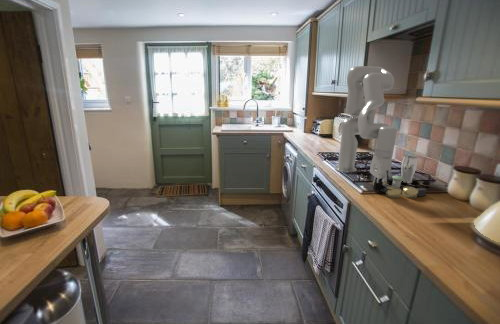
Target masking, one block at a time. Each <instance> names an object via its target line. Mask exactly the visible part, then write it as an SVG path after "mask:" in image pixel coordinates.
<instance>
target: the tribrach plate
mask: <svg viewBox="0 0 500 324" xmlns="http://www.w3.org/2000/svg"><path fill="white" fill-rule="evenodd" d="M391 177H392V183H391V187H397V188H399V189H401V185H402V181H401V180H403V177H401V175H392V176H391Z"/></svg>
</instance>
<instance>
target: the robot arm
mask: <svg viewBox="0 0 500 324" xmlns="http://www.w3.org/2000/svg"><path fill="white" fill-rule="evenodd" d="M346 85H347V97H346V105H345V106H346V107H345V112H346V114H347V115H348V116H354V117H348V118H345V119H343V120H342V121H341V123H340V130H341V131H340V132H341V133H340V134H341V137H340V145H339V146H340V147H339V151H338V152H339V154H338V161H337V165H335V167H334V170H336V171H337V172H343V173H345V172H348V173H349V172H351V173H352V172H353V173H354V172H355V173H356V172H357V168H356V167H355V164H356V157H357V150H358V145H359V143H358V139H357V137H356V136H357V135H359V137H360V138H362V139H363V140H376V142H375V148H374V149H375V150H374V154H373V157H372V159H371V163H370V166H369V173H370V174H371V176H372V175H373V176H374V186H373V185H372V186H373V187H372V190H374V191H375V192H378V191H379V192H380V191H381V188H382V183H383V182H387V183H388V180H389V178H390V177H391V171H392V163H393V162H392V161H393V156H394V149H395V144H396V139H397V134H398V129H397V127H394V126H391V125H390V124H388V123H378V122H376V123H375V116H376V110H377V108H379V107H382V106H383V105H384V103H385V95H384V92H385V91H390V90H392V89H393V88H394V85H395V77H394V75H393V74H392V73H391V72H390V71H389V70H387V69H385V68H383V67H382V66H371V65H370V66H369V65H367V66H366V65H357V66H353V67H351V68H350V69H349V70H348V73H347V76H346ZM381 192H382V191H381Z"/></svg>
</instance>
